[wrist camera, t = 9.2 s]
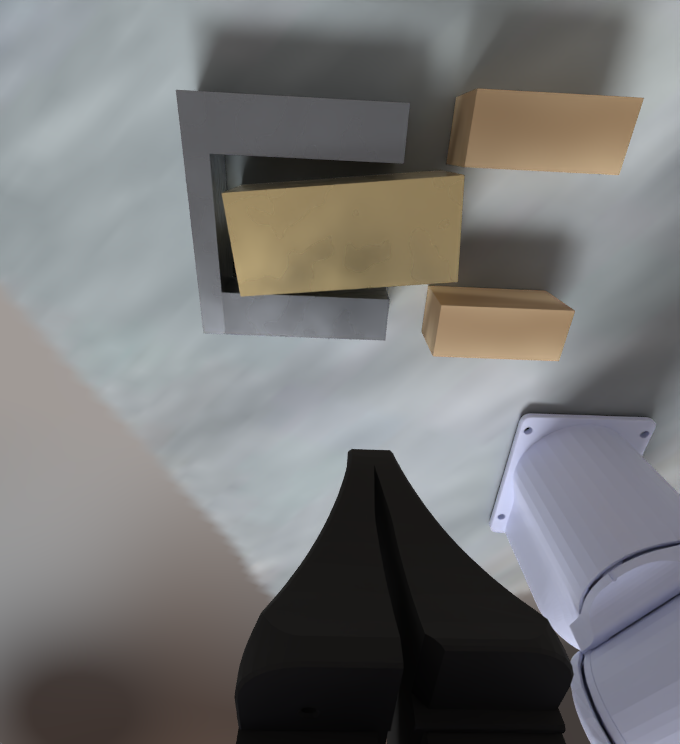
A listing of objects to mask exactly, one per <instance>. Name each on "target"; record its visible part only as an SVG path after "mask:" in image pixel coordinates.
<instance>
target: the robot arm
mask: <svg viewBox="0 0 680 744" xmlns="http://www.w3.org/2000/svg"><path fill="white" fill-rule="evenodd" d="M527 427H530V428H529V429H528V430H525V429H526V428H527ZM655 428H656V422H655V421H653V420H652V419H651V418H648V417H622V416H593V415H564V414H534V413H529V414H525V415H523V416H522V417H521V419H520V421H519V424H518V428H517V431H516V434H515V438H514V441H513V445H512V448H511V451H510V455H509V458H508V461H507V465H506V468H505V472H504V475H503V478H502V482H501V485H500V488H499V492H498V495H497V499H496V502H495V505H494V509H493V512H492V515H491V519H490V522H489V526H490V529H491V530H492V531H493V532H505V533H506V536H507V538H508V540H509V542H510V545H511V547H512V549H513V551H514V554H515V556H516V558H517V561H518V563H519V565H520V567H521V570H522V572H523V574H524V576H525V579H526V581H527V583H528V586H529V588H530V590H531V592H532V595H533V597H534V599H535V602H536V604H537V606H538V608H539V610H540V612H541V613H542V615H541V614H540V613H538V612H537V611H536V610H534V609H533V608H531V607H530V606H528V605H527V604H526V603H524V602H523V601H521V600H520V599H519V598H517V597H516V596H515V595H513V594H512V593H511V592H509V591H508V590H507V589H506V588H504V587H503V586H502V585H501V584H500V583H498V582H497V581H496V580H495V579H493V578H492V577H491V576H490V575H489V574H488V573H487V572H486V571H484V570H483V569H482V568H481V567H480V566H479V565H478V564H477V563H476V562H475V561H473V560H472V559H471V558H470V557H469V556H468V555H467V554H466V553H465V552H464V551H463V550H462V549H461V548H460V547H459V546H458V545H457V544H456V542H455V541H454V540H453V539H452V538H451V537H450V536H449V535H448V534H447V533H446V531H445V530H444V529H443V528H442V527H441V525H440V524H439V523H438V522H437V521H436V519H435V518H434V517H433V515H432V514H431V513H430V512H429V510H428V509H427V508H426V506H425V505H424V503H423V502H422V501H421V499H420V498H419V496H418V495H417V493H416V492H415V490H414V489H413V487H412V486H411V484H410V483H409V481H408V480H407V478H406V476H405V475H404V473H403V471H402V470H401V468H400V466H399V464H398V462H397V461H396V459H395V457H394V455H393V453H392V452H391V451H390V450H362V449H351V450H350V451H349V452H348V459H347V468H346V472H345V476H344V479H343V482H342V485H341V488H340V491H339V494H338V497H337V499H336V501H335V504H334V506H333V508H332V510H331V513H330V515H329V517H328V519H327V521H326V523H325V525H324V527H323V529H322V531H321V532H320V534H319V536H318V538H317V540H316V541H315V543H314V544H313V546H312V548H311V549H310V551H309V553H308V554H307V556H306V557H305V559H304V560H303V562H302V563H301V565H300V566H299V567H298V569H297V570H296V571H295V573H294V574H293V575H292V577H291V578H290V579H289V581H288V582H287V583H286V585H285V586H284V587H283V588H282V590H281V591H280V592H279V593H278V594H277V595H276V597H275V598H274V599H273V600H272V601H271V602H270V603H269V605H268V606H267V607H266V608H265V609H264V610H263V611H262V613H261V614H260V616H259V618H258V621H257V623H256V625H255V627H254V629H253V631H252V633H251V636H250V638H249V640H248V643H247V645H246V648H245V650H244V653H243V656H242V660H241V663H240V667H239V672H238V678H237V683H236V690H235V703H236V711H237V719H238V726H239V729H238V735H237V742H236V744H386V739H387V744H566V743H565V740H564V738H563V735H562V733H564V732H565V724H564V721H563V719H562V716H561V714H560V711H559V709H558V707H559V705H560V703H561V701H562V700H563V698H564V696H565V694H566V692H567V691H568V689H569V687H570V685H571V688H572V694H573V699H574V703H575V707H576V710H577V713H578V716H579V719H580V721H581V724H582V726H583V728H584V730H585V733H586V735H587V737H588V739H589V741H590V742H591V744H680V494H679V493H678V492H677V491H676V490H675V489H674V488H673V487H672V486H671V485H670V484H669V483H668V482H667V481H666V480H665V479H664V478H663V477H662V476H661V475H660V474H659V473H658V472H657V471H656V470H655V469H654V468H653V467H652V466H651V465H650V464H649V463H648V462H647V461H646V460H645V459H644V458H643V457H642V455H643V453H644V451H645V449H646V447H647V445H648V443H649V441H650V438H651V436H652V434H653V432H654V430H655ZM524 430H525V431H524ZM642 432H644V433H642ZM641 433H642V434H641ZM500 514H501V515H500ZM554 630H555V631H556V632H557V633H558V634H559V635H560V636H561V637H562V638H563V639H564V640H566V641H567V642H568V643H570V644H571V645H572V646H574V647H575V648H577V649H579V650H581V651H579V652H577V653H576V654H575V655H574V656H573V657H572V659H571V662H570V660H569V658H568V656H567V654H566V651H565V649H564V647H563V645H562V643H561V642H560V640H559V638H558V636H557V635H556V633H555V631H554ZM0 744H1V743H0Z"/></svg>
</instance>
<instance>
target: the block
mask: <svg viewBox="0 0 680 744" xmlns="http://www.w3.org/2000/svg"><path fill="white" fill-rule="evenodd" d="M464 176H465V175H462V174H457V173H453V172H448V171H444V170H435V171H421V172H408V173H394V174H381V175H367V176H354V177H340V178H327V179H313V180H300V181H286V182H272V183H259V184H245V185H240V186H237V187H235V188H233V189H230V190H228V191H225V192H223V193H222V198H223V204H224V209H225V215H226V220H227V226H228V231H229V236H230V242H231V247H232V253H233V258H234V264H235V269H236V275H237V280H238V285H239V291H240V296H241V297H242V296H257V295H272V294H287V293H302V292H316V291H331V290H346V289H361V288H376V287H391V286H405V285H420V284H435V283H450V282H458V268H459V253H460V237H461V222H462V207H463V191H464Z"/></svg>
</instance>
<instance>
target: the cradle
mask: <svg viewBox="0 0 680 744" xmlns="http://www.w3.org/2000/svg"><path fill="white" fill-rule="evenodd" d="M176 95H177V104H178V112H179V121H180V130H181V139H182V148H183V156H184V165H185V174H186V183H187V192H188V201H189V209H190V218H191V227H192V236H193V245H194V253H195V262H196V271H197V280H198V289H199V297H200V306H201V315H202V324H203V333H208V334H234V335H259V336H285V337H311V338H337V339H363V340H385V337H386V328H387V318H388V309H389V297H388V294H387V291H386V288H385V287H376V288H361V289H346V290H331V291H316V292H302V293H287V294H272V295H257V296H242V297H241V296H240V291H239V285H238V280H237V277H233V264H232V250H231V242H230V236H229V231H228V226H227V220H226V215H225V209H224V204H223V198H222V193H223V192H225V191H227V181H226V167H225V154H227V155H247V156H266V157H285V158H305V159H324V160H344V161H363V162H383V163H402V164H404V156H405V147H406V137H407V128H408V118H409V109H410V103H403V102H385V101H367V100H349V99H331V98H313V97H295V96H277V95H260V94H242V93H224V92H206V91H188V90H176Z"/></svg>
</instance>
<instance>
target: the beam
mask: <svg viewBox="0 0 680 744" xmlns="http://www.w3.org/2000/svg"><path fill="white" fill-rule="evenodd" d="M643 99H644V98H637V97H619V96H602V95H584V94H567V93H549V92H532V91H514V90H497V89H479V88H477V89H475V90H472V91H470V92H468V93H465V94H463V95H460V96H458V97H456V101H455V108H454V115H453V122H452V128H451V135H450V142H449V149H448V156H447V162H446V164H448V165H455V166H461V167H473V168H492V169H511V170H531V171H550V172H570V173H589V174H609V175H619V173H620V170H621V167H622V164H623V161H624V158H625V155H626V152H627V149H628V146H629V143H630V139H631V136H632V133H633V130H634V127H635V124H636V121H637V118H638V115H639V112H640V108H641V105H642V102H643ZM574 313H575V310H573V309H572V308H570V307H569V306H567V305H566V304H564V303H563V302H561V301H560V300H558V299H557V298H556V297H554V296H553V295H551V294H550V293H548V292H547V291H542V290H519V289H495V288H472V287H449V286H428V291H427V298H426V305H425V312H424V318H423V325H422V334H423V336H424V338H425V340H426V342H427V344H428V347H429V349H430V351H431V353H432V355H433V356H438V357H464V358H491V359H517V360H544V361H559V359H560V356H561V353H562V350H563V347H564V344H565V341H566V337H567V334H568V331H569V328H570V325H571V322H572V319H573V316H574Z"/></svg>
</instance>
